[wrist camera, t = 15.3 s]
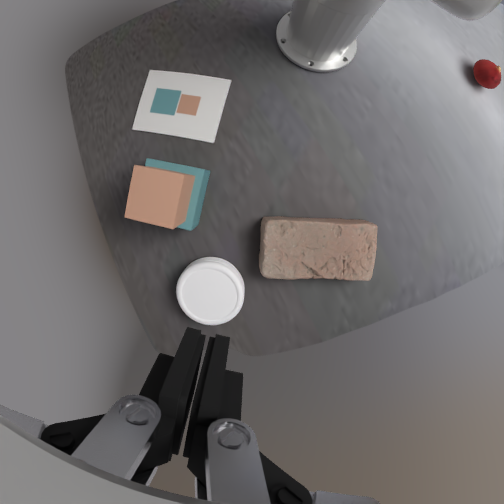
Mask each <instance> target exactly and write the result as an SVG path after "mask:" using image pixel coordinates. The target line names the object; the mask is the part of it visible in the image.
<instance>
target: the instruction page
mask: <svg viewBox="0 0 504 504" xmlns="http://www.w3.org/2000/svg"><path fill="white" fill-rule="evenodd" d="M231 81H232V80H228V79H222V78H216V77H210V76H203V75H196V74H188V73H179V72H169V71H157V70H150V72H149V75H148V78H147V81H146V84H145V87H144V90H143V93H142V96H141V99H140V103H139V106H138V110H137V113H136V117H135V120H134V124H133V128H132V130H139V131H146V132H153V133H160V134H166V135H172V136H178V137H184V138H189V139H195V140H200V141H205V142H210V143H214V141H215V137H216V134H217V130H218V126H219V122H220V119H221V115H222V112H223V108H224V105H225V101H226V98H227V94H228V91H229V87H230V84H231Z"/></svg>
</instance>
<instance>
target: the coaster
mask: <svg viewBox="0 0 504 504" xmlns="http://www.w3.org/2000/svg"><path fill="white" fill-rule="evenodd" d="M244 291H245V289H244V282H243V279H242V276H241V274H240V273H239V271H238V270H237V269H236V268H235V267H234V266H233V265H232V264H231V263H229V262H228V261H226V260H224V259H221V258H217V257H204V258H200V259H197V260H195V261H193V262H192V263H190V264H189V265H188V266H187V267H186V268H185V270H184V271H183V273H182V274H181V275H180V277H179V279H178V282H177V287H176V294H177V299H178V302H179V305H180V307H181V309H182V310H183V311H184V313H185V314H186V315H187V316H189V317H190V318H191V319H193V320H194V321H196V322H198V323H201V324H205V325H219V324H223V323H225V322H228V321H229V320H231V319H232V318H234V317H235V316H236V315H237V314H238V312H239V311H240V309H241V307H242V305H243V301H244Z"/></svg>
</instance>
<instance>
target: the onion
mask: <svg viewBox="0 0 504 504" xmlns="http://www.w3.org/2000/svg"><path fill="white" fill-rule="evenodd" d="M473 70H474V77H475V79H476V81H477V82H478V83H479V84H480V85H481V86H483V87H485V88H488V89H494V88H495V87H497V86H498V85H499V84H500V81H501V72H500V71H501V68H500V66H496V65H495V64H494V63H493V62H491V61H489V60H483V59H482V60H479V61H477V62H476V63H475V65H474V68H473Z"/></svg>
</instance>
